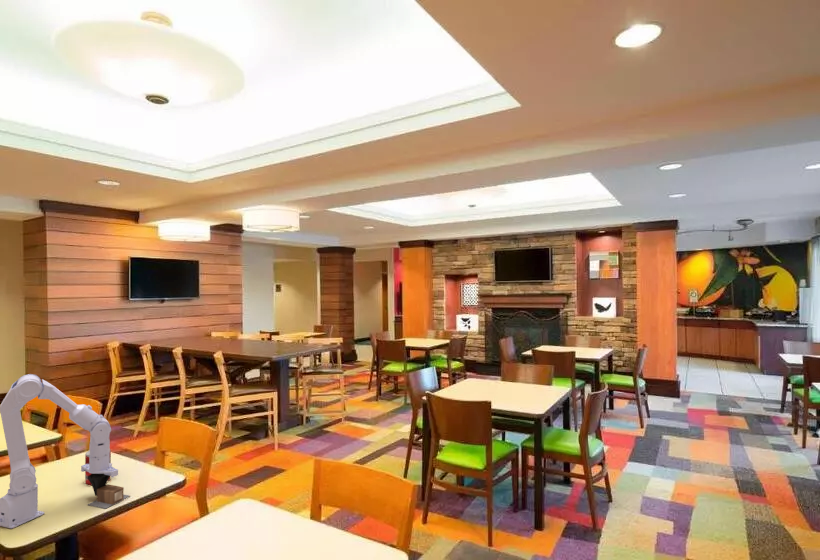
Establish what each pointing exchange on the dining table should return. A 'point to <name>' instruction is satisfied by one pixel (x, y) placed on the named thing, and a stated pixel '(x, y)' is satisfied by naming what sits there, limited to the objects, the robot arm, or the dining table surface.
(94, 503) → the felt mat
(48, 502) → the dining table surface
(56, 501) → the dining table surface
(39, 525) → the dining table surface
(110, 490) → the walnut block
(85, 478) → the canned food
